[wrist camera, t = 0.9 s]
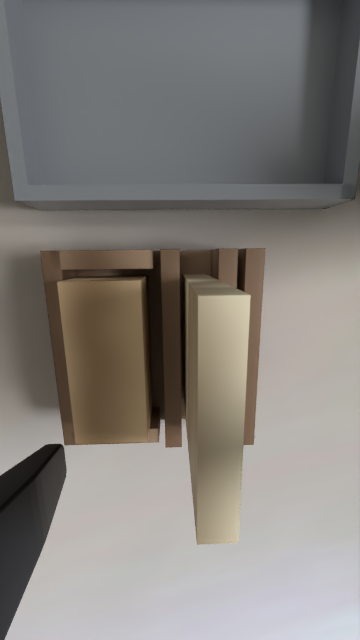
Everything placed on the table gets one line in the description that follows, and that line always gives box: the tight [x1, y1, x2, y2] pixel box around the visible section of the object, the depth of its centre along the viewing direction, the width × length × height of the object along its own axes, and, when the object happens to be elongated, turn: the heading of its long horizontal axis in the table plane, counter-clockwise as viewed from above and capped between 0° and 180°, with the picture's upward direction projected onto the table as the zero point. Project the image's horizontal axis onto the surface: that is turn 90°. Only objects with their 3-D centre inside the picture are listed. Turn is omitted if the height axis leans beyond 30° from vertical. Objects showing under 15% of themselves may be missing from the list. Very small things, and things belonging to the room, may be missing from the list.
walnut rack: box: [40, 248, 265, 447], centre depth 18 cm, size 12×12×4 cm
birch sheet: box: [183, 274, 251, 544], centre depth 13 cm, size 2×9×10 cm, turn 1°
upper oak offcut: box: [57, 277, 151, 444], centre depth 15 cm, size 4×9×2 cm, turn 1°
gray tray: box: [0, 0, 360, 210], centre depth 15 cm, size 19×12×3 cm, turn 91°
